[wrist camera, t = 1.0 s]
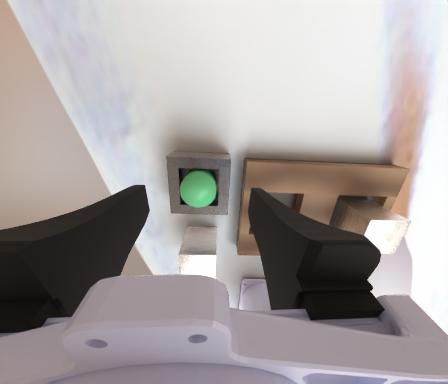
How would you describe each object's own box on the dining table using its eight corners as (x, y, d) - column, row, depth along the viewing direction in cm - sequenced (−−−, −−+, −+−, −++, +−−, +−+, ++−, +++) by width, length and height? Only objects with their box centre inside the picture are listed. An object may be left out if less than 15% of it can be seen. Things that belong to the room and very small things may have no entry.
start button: (216, 198, 22) (215, 208, 20) (185, 196, 22) (180, 206, 20) (217, 168, 21) (216, 174, 18) (184, 166, 21) (178, 173, 18)
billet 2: (356, 225, 26) (393, 253, 20) (327, 224, 26) (356, 253, 20) (367, 198, 24) (411, 221, 19) (336, 197, 24) (371, 220, 18)
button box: (226, 202, 25) (227, 215, 21) (177, 201, 24) (170, 213, 21) (229, 153, 22) (231, 159, 19) (174, 151, 22) (166, 156, 19)
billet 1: (216, 250, 28) (214, 282, 22) (188, 249, 28) (180, 281, 22) (217, 227, 26) (215, 255, 21) (187, 226, 26) (178, 254, 21)
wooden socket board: (357, 248, 28) (368, 258, 26) (236, 245, 28) (237, 255, 26) (393, 164, 23) (410, 168, 21) (244, 158, 22) (246, 161, 20)
